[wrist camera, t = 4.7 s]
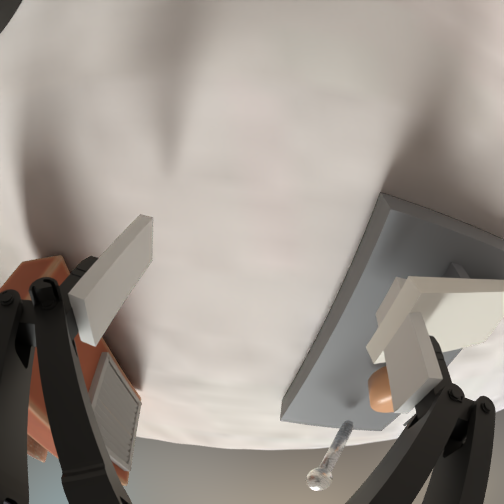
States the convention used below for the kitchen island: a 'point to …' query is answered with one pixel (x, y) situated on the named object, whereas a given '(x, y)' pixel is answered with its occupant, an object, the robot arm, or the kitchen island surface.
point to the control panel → (95, 376)
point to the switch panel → (369, 300)
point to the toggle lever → (329, 459)
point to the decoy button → (380, 391)
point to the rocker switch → (444, 312)
